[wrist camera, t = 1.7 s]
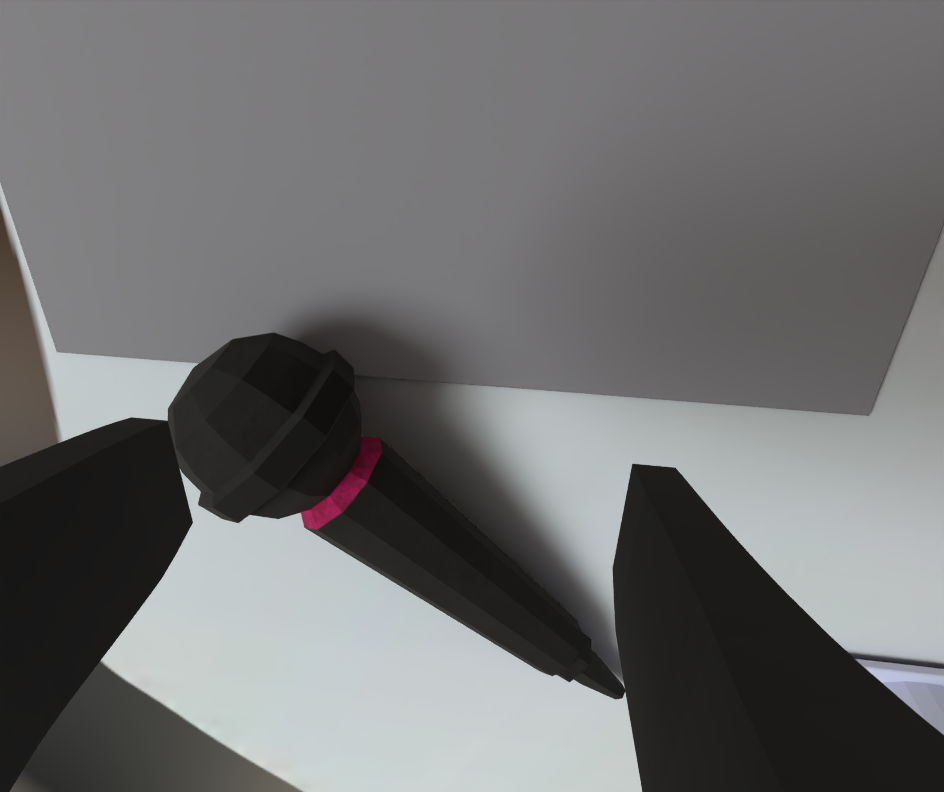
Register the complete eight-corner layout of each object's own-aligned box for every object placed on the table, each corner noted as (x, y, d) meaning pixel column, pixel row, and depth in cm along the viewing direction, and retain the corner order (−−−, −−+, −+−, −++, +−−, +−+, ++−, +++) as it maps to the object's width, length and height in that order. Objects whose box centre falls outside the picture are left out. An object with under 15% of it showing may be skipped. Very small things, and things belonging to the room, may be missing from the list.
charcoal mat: (867, 413, 18) (868, 415, 18) (59, 351, 20) (57, 352, 20) (1120, -239, 11) (1124, -241, 11) (-127, -209, 14) (-131, -211, 14)
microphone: (638, 599, 26) (273, 276, 18) (710, 710, 21) (244, 323, 13) (546, 677, 27) (158, 398, 19) (595, 803, 22) (85, 489, 14)
